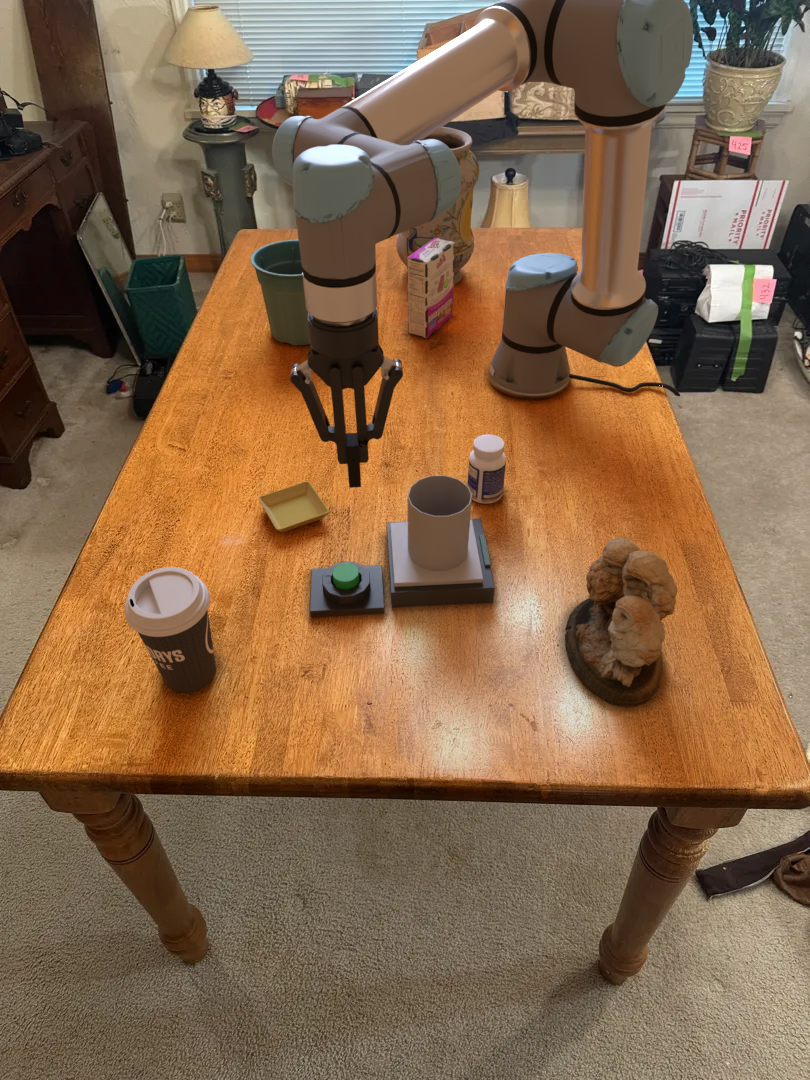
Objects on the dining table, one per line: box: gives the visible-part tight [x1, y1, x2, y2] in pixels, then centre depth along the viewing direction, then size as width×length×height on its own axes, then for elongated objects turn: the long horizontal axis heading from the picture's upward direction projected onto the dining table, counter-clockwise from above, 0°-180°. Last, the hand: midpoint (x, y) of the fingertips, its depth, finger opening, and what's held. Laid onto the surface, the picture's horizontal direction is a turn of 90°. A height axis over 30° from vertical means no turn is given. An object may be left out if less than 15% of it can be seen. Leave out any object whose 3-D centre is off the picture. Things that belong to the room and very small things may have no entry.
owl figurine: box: [564, 536, 679, 707], centre depth 93 cm, size 18×12×17 cm, turn 6°
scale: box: [386, 517, 496, 608], centre depth 108 cm, size 14×14×4 cm
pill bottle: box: [466, 433, 507, 505], centre depth 118 cm, size 6×6×10 cm
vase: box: [395, 126, 480, 285], centre depth 167 cm, size 18×18×30 cm
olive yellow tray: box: [258, 480, 330, 533], centre depth 117 cm, size 9×9×2 cm
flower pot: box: [250, 239, 310, 346], centre depth 153 cm, size 16×16×16 cm
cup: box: [407, 474, 473, 571], centre depth 103 cm, size 8×8×10 cm
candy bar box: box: [406, 238, 455, 339], centre depth 155 cm, size 11×5×16 cm, turn 148°
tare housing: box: [309, 561, 385, 618], centre depth 105 cm, size 10×8×3 cm
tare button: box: [332, 563, 359, 590], centre depth 103 cm, size 4×4×2 cm
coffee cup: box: [124, 566, 217, 694], centre depth 91 cm, size 10×10×15 cm
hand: (354, 480), depth 97 cm, fingers closed
